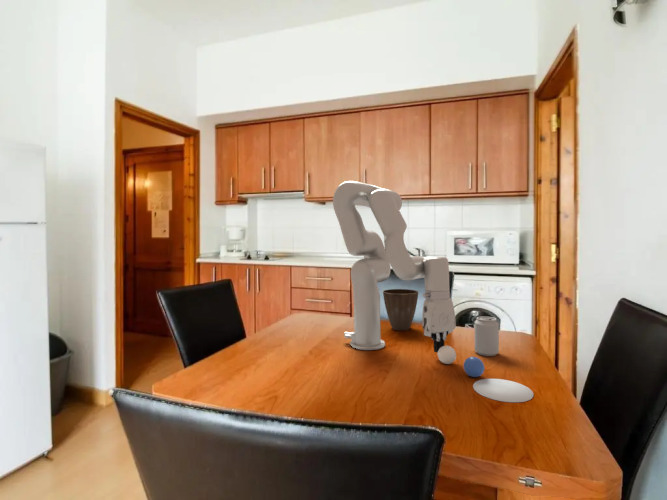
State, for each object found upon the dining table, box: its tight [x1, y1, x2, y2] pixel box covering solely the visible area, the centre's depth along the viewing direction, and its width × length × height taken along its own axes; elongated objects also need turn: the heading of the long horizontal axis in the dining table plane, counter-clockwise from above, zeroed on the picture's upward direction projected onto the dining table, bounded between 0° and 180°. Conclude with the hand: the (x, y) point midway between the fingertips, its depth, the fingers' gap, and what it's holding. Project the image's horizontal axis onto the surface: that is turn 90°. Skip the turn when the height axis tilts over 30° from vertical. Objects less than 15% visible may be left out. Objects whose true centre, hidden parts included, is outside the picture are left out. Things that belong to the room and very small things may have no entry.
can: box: [474, 315, 500, 357], centre depth 124 cm, size 8×8×12 cm
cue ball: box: [437, 345, 457, 365], centre depth 114 cm, size 6×6×6 cm
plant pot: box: [382, 288, 419, 331], centre depth 158 cm, size 15×15×16 cm
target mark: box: [472, 378, 534, 403], centre depth 95 cm, size 14×14×1 cm
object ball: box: [463, 356, 485, 378], centre depth 104 cm, size 6×6×6 cm
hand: (439, 352), depth 119 cm, fingers closed
